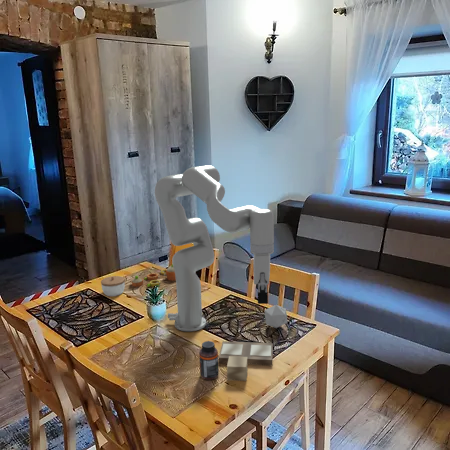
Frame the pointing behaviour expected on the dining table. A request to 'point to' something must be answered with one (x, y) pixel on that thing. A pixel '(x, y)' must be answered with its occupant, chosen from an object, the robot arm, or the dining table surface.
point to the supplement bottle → (208, 361)
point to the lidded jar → (113, 285)
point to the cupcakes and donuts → (155, 278)
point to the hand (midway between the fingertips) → (262, 297)
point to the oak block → (237, 368)
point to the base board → (247, 352)
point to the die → (276, 316)
